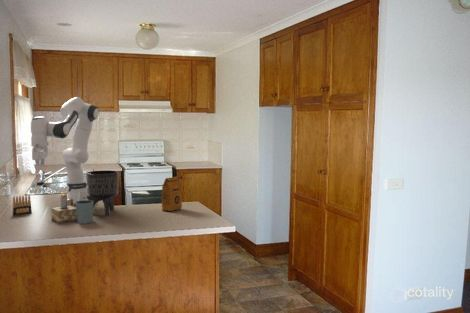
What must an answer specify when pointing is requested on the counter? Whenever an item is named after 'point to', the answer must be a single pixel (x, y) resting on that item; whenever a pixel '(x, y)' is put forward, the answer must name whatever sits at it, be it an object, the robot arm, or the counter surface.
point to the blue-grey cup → (84, 211)
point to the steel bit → (63, 201)
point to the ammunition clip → (21, 206)
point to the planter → (103, 188)
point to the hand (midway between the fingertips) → (40, 166)
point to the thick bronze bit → (70, 202)
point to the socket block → (64, 214)
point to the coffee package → (171, 195)
